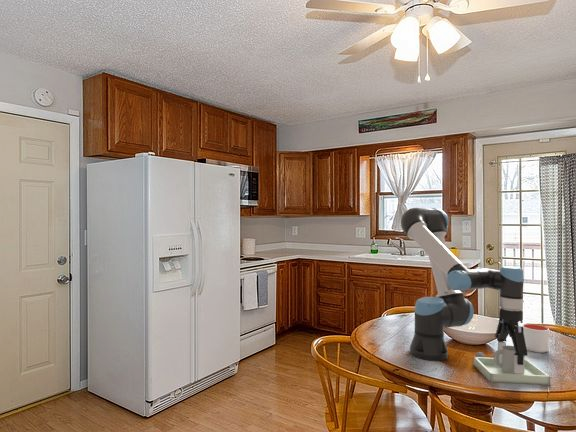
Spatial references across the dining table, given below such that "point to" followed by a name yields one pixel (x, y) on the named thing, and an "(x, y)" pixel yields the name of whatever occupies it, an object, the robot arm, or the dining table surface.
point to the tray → (497, 375)
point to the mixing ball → (479, 354)
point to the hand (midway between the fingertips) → (509, 365)
